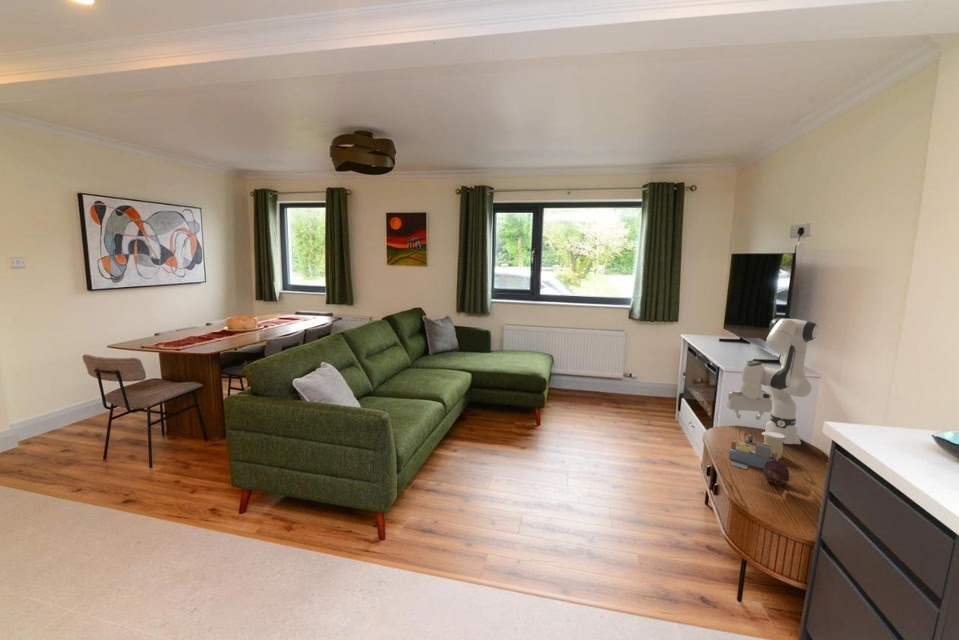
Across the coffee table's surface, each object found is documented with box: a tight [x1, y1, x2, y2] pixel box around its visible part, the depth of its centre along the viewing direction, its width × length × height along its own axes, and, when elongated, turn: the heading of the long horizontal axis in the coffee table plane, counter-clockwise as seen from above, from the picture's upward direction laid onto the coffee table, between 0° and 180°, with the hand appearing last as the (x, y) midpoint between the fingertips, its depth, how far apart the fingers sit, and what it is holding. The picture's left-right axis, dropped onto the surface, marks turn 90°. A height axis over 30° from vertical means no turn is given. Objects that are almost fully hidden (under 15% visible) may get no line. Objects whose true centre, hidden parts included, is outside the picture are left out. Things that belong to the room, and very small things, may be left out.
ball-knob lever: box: [744, 434, 764, 447], centre depth 215 cm, size 2×8×4 cm, turn 47°
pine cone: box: [762, 460, 790, 486], centre depth 196 cm, size 18×10×10 cm, turn 159°
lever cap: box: [737, 440, 753, 454], centre depth 218 cm, size 5×5×4 cm
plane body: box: [728, 439, 779, 470], centre depth 216 cm, size 8×20×11 cm, turn 47°
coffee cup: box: [763, 431, 785, 459], centre depth 225 cm, size 9×9×12 cm
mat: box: [730, 460, 750, 470], centre depth 213 cm, size 6×7×1 cm
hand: (747, 418), depth 216 cm, fingers open, 8 cm apart
